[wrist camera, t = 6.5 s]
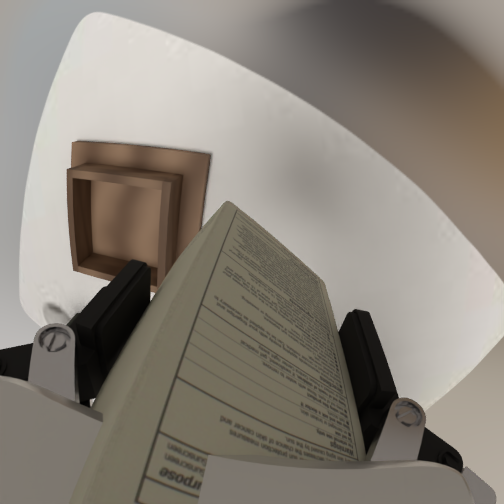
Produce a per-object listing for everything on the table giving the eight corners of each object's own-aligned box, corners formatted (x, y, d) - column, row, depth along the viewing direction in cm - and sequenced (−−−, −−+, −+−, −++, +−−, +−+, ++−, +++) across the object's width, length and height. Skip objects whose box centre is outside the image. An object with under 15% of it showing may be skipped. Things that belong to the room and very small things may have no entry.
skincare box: (173, 262, 14) (32, 504, 3) (231, 193, 12) (53, 517, 1) (270, 335, 15) (249, 575, 4) (333, 282, 14) (387, 563, 3)
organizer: (210, 154, 27) (198, 161, 23) (194, 293, 34) (183, 316, 30) (77, 141, 27) (52, 147, 23) (80, 264, 34) (62, 282, 30)
